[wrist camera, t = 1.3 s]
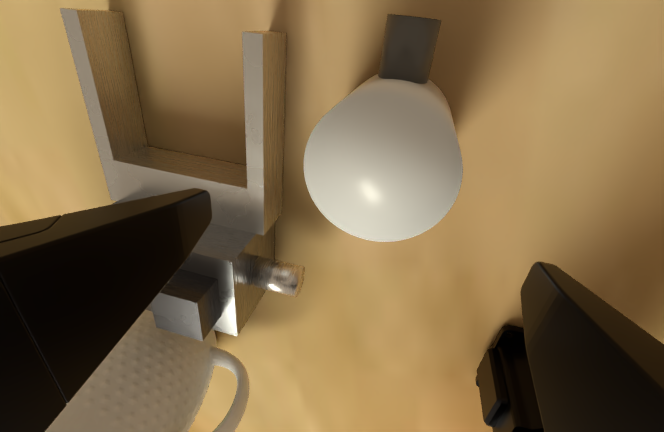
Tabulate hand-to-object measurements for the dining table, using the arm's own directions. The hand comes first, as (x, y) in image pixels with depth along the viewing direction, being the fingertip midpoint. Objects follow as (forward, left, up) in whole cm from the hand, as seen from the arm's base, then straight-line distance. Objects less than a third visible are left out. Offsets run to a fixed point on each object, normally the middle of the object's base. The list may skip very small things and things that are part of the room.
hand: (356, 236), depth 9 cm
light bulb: (0, -1, -11) cm, 11 cm away
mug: (+15, +22, -12) cm, 29 cm away
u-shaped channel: (+11, +4, -11) cm, 16 cm away
